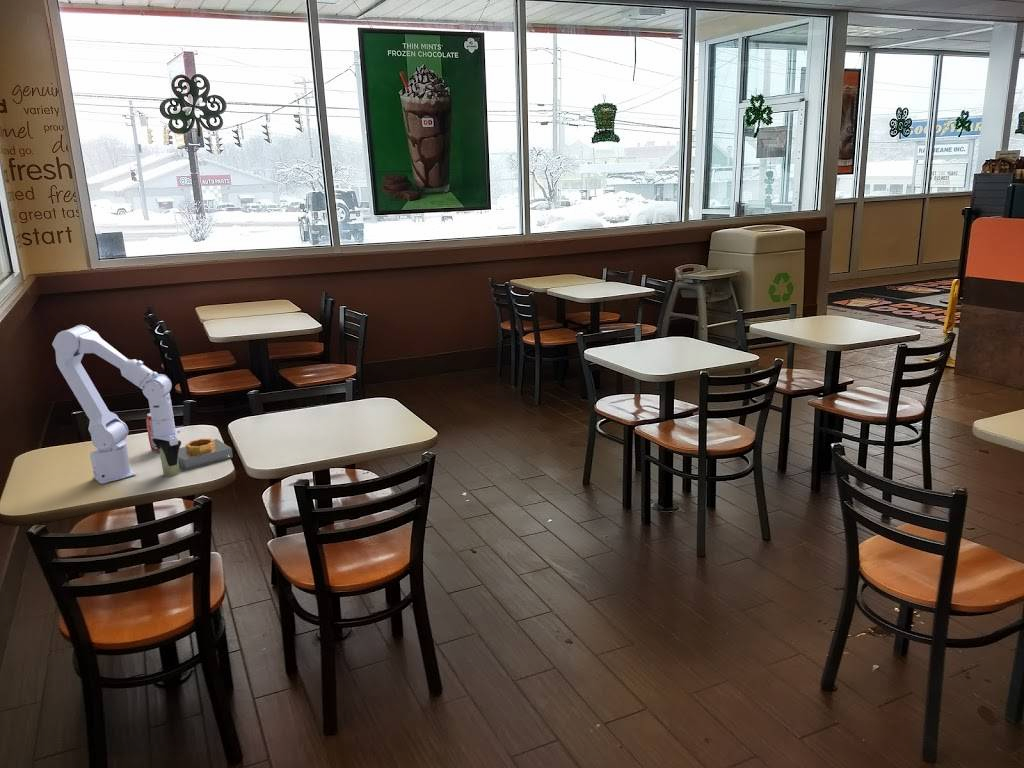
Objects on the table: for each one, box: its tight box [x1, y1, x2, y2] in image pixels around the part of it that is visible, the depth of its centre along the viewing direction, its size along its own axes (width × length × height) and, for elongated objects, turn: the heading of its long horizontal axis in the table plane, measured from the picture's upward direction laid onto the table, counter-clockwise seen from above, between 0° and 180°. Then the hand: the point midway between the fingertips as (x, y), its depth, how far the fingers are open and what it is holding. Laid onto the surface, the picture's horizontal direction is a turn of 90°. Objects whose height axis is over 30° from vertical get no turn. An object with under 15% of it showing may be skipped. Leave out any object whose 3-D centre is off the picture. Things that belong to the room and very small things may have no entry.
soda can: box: [145, 412, 159, 453], centre depth 245 cm, size 7×7×12 cm
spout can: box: [159, 447, 181, 477], centre depth 224 cm, size 4×4×9 cm
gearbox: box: [178, 438, 234, 470], centre depth 237 cm, size 14×15×5 cm
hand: (170, 463), depth 225 cm, fingers closed on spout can, 4 cm apart
